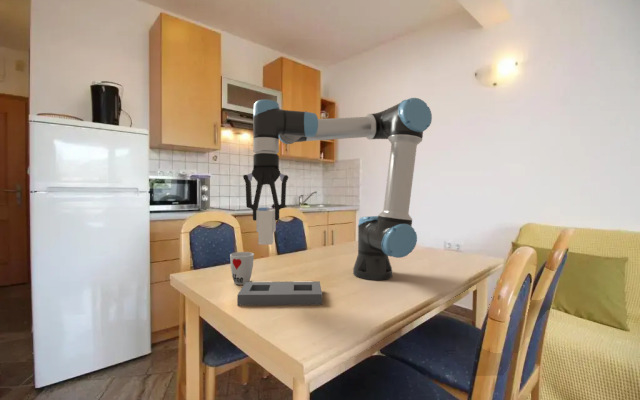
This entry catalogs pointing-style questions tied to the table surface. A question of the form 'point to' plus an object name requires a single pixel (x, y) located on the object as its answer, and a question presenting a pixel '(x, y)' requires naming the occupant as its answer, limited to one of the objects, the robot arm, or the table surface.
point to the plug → (265, 226)
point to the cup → (241, 266)
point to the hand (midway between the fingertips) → (266, 231)
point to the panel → (280, 293)
